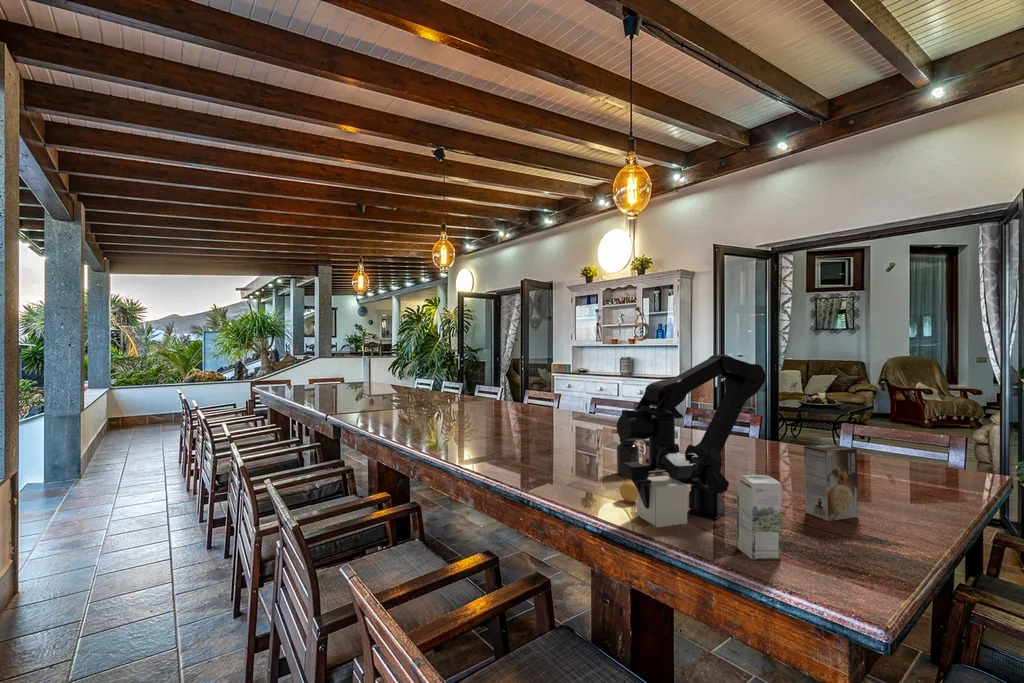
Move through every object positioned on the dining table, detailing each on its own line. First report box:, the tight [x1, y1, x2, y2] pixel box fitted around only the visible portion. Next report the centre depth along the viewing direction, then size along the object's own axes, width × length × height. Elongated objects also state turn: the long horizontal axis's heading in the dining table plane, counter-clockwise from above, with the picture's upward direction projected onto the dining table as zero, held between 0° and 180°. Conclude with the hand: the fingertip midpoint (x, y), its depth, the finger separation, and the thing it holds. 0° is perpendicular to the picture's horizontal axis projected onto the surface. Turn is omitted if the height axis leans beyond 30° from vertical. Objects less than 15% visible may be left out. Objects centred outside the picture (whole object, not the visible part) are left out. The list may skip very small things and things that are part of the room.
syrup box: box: [736, 474, 783, 561], centre depth 92 cm, size 6×6×14 cm
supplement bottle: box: [616, 437, 640, 475], centre depth 151 cm, size 7×7×12 cm
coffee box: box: [803, 443, 859, 522], centre depth 114 cm, size 9×6×16 cm
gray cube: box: [637, 475, 688, 528], centre depth 110 cm, size 8×8×9 cm
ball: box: [619, 480, 638, 503], centre depth 124 cm, size 5×5×5 cm
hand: (662, 506), depth 110 cm, fingers closed on gray cube, 8 cm apart
